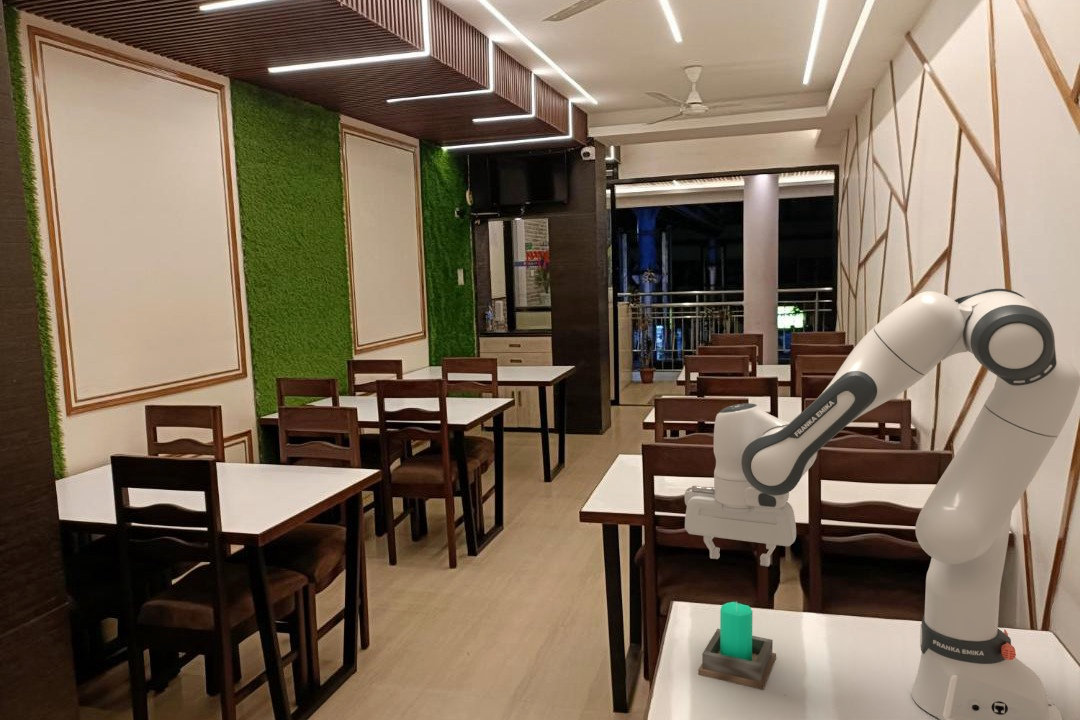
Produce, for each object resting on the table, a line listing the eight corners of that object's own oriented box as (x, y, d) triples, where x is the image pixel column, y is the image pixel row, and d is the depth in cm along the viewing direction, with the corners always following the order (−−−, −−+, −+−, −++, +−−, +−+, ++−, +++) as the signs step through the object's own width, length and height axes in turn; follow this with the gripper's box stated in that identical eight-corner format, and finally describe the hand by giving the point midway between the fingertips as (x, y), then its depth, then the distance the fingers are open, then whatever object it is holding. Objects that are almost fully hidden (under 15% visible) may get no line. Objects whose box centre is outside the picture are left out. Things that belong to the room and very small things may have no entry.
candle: (745, 672, 144) (746, 611, 142) (715, 663, 147) (715, 603, 146) (756, 657, 149) (757, 598, 147) (727, 649, 152) (727, 591, 150)
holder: (776, 658, 150) (776, 638, 150) (763, 689, 140) (763, 668, 139) (715, 645, 156) (715, 626, 155) (698, 674, 145) (698, 654, 145)
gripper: (679, 489, 145) (680, 559, 147) (791, 500, 136) (791, 575, 137) (689, 480, 151) (690, 548, 152) (797, 490, 141) (798, 562, 143)
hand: (739, 561), depth 145 cm, fingers open, 8 cm apart
